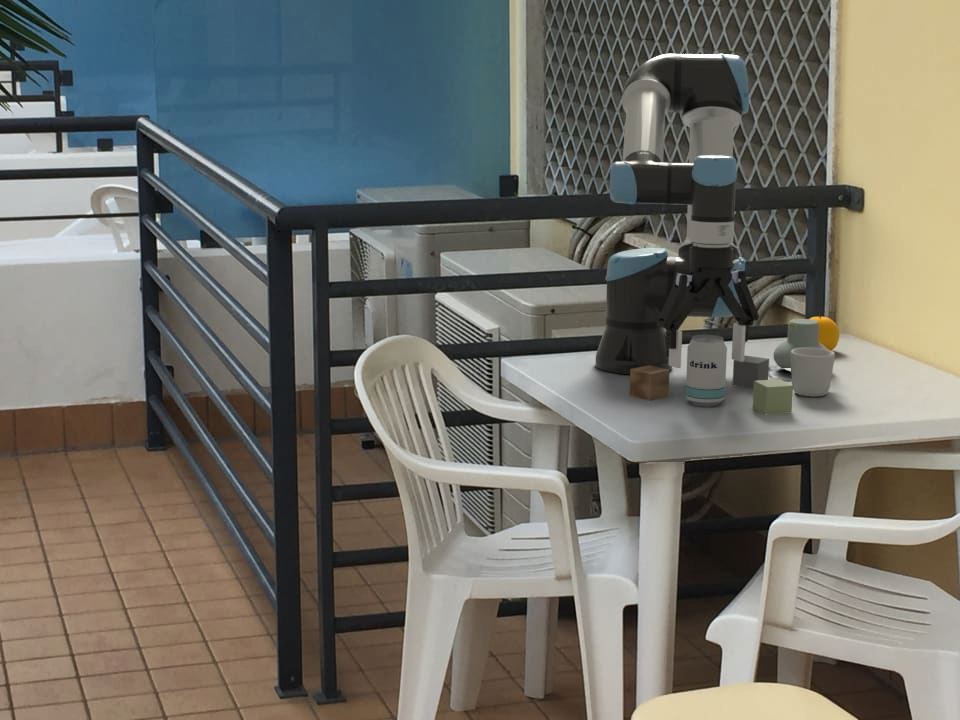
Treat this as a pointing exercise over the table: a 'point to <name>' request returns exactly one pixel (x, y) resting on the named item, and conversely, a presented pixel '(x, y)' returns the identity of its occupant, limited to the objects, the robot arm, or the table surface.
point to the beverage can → (706, 370)
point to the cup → (811, 370)
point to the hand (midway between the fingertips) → (706, 363)
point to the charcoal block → (750, 371)
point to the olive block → (772, 396)
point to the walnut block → (649, 382)
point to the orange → (827, 332)
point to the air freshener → (797, 340)
